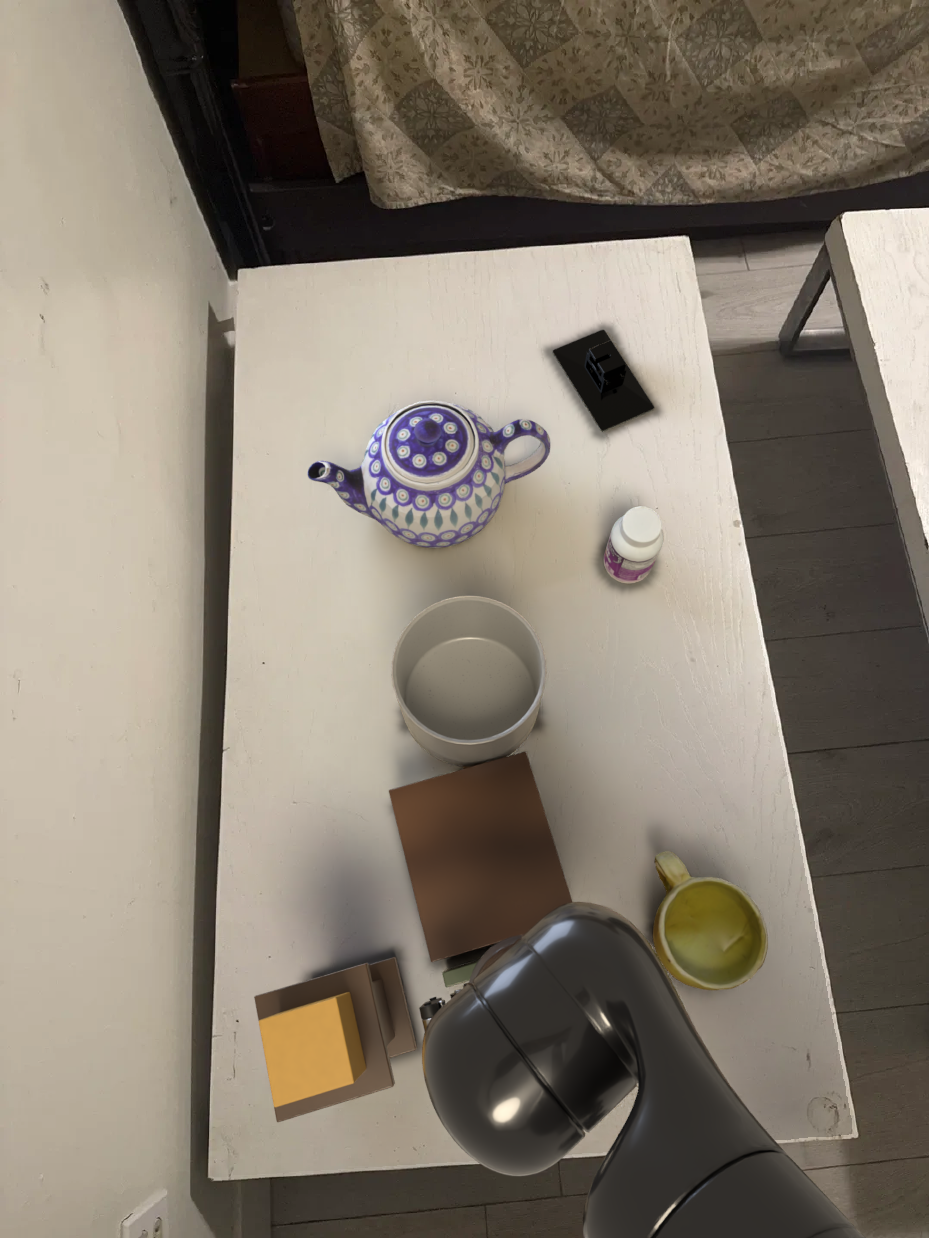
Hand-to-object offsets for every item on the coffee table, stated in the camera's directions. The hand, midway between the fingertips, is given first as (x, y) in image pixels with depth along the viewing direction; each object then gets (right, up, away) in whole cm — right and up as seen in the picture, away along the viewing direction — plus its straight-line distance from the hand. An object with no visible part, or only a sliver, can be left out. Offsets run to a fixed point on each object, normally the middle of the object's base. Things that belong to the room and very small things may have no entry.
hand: (519, 988), depth 66 cm
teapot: (-7, +41, +32) cm, 53 cm away
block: (-14, -1, -6) cm, 15 cm away
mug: (+17, 0, +17) cm, 24 cm away
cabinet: (-3, +4, +19) cm, 19 cm away
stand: (-13, -8, +14) cm, 21 cm away
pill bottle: (+14, +34, +29) cm, 47 cm away
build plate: (+12, +56, +37) cm, 68 cm away
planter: (-3, +18, +24) cm, 30 cm away
